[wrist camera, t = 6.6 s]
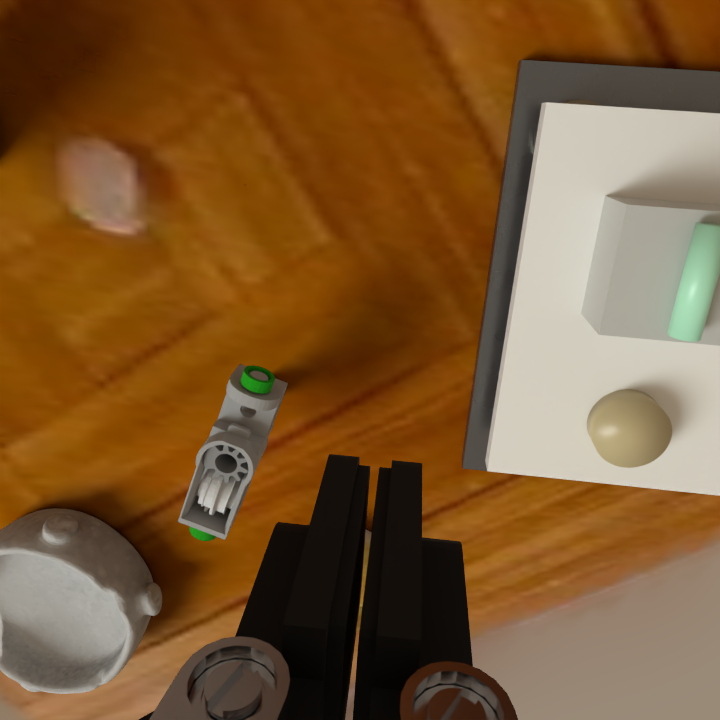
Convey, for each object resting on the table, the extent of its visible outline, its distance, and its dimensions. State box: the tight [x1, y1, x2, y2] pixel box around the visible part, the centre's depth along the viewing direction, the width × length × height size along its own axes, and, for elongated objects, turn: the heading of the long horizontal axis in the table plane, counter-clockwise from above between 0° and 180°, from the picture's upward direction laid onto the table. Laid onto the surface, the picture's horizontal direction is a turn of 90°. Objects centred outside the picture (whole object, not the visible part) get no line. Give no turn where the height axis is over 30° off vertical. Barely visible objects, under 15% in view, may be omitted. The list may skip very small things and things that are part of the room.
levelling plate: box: [485, 102, 720, 496], centre depth 30 cm, size 20×14×6 cm
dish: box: [0, 508, 162, 694], centre depth 46 cm, size 14×14×5 cm
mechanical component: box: [178, 364, 288, 541], centre depth 36 cm, size 3×10×10 cm, turn 158°
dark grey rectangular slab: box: [462, 60, 720, 471], centre depth 35 cm, size 24×16×3 cm, turn 177°
